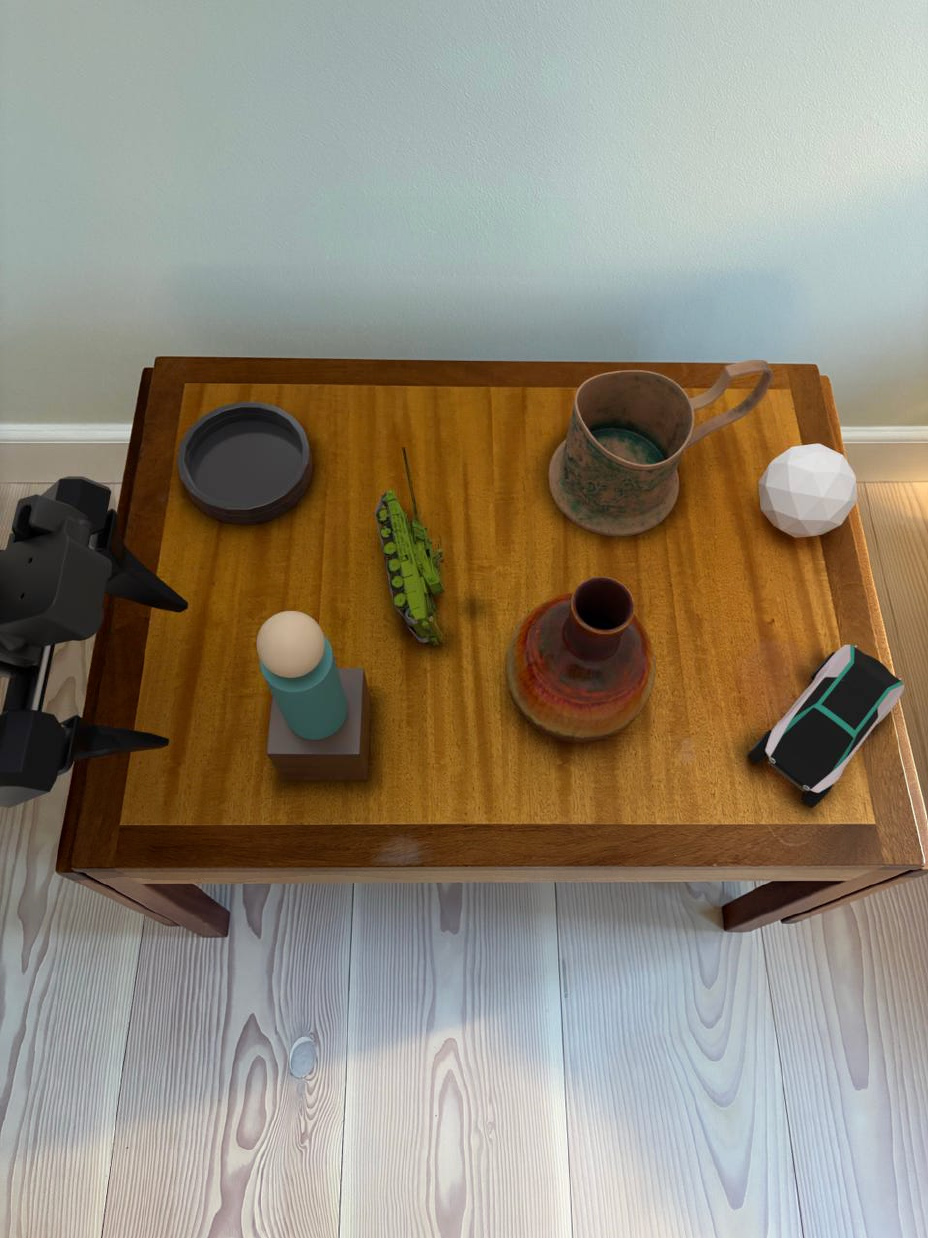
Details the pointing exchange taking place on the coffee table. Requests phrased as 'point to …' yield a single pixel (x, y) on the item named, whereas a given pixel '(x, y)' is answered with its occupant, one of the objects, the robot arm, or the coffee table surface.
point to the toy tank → (411, 565)
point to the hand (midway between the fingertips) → (175, 673)
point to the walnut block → (326, 740)
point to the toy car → (829, 721)
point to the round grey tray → (245, 463)
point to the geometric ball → (807, 490)
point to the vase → (581, 663)
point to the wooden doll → (302, 674)
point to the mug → (635, 446)
